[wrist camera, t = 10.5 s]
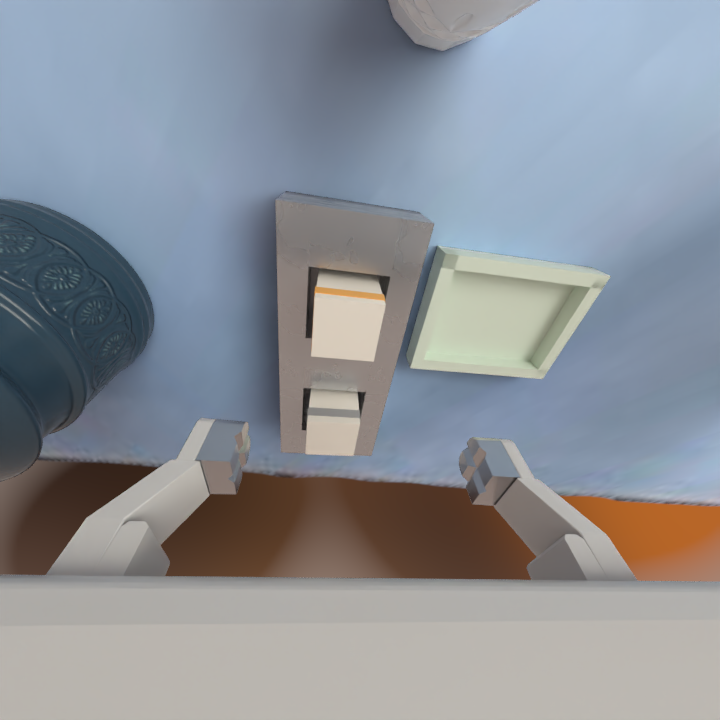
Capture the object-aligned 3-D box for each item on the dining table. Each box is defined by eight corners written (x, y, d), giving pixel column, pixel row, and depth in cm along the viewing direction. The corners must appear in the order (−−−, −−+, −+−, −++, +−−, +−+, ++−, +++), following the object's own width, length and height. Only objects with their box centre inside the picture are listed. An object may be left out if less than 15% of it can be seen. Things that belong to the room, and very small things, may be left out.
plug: (375, 269, 21) (386, 304, 16) (366, 318, 23) (374, 362, 19) (319, 262, 21) (313, 296, 16) (316, 313, 23) (310, 356, 18)
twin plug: (356, 374, 27) (360, 423, 22) (351, 405, 29) (353, 456, 24) (312, 371, 26) (306, 420, 21) (310, 403, 29) (304, 454, 24)
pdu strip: (418, 212, 20) (434, 223, 17) (367, 425, 33) (371, 455, 29) (286, 191, 19) (275, 199, 16) (286, 421, 31) (280, 452, 28)
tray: (591, 267, 23) (610, 276, 21) (531, 366, 29) (542, 379, 27) (437, 245, 21) (445, 253, 20) (405, 355, 27) (410, 368, 26)
